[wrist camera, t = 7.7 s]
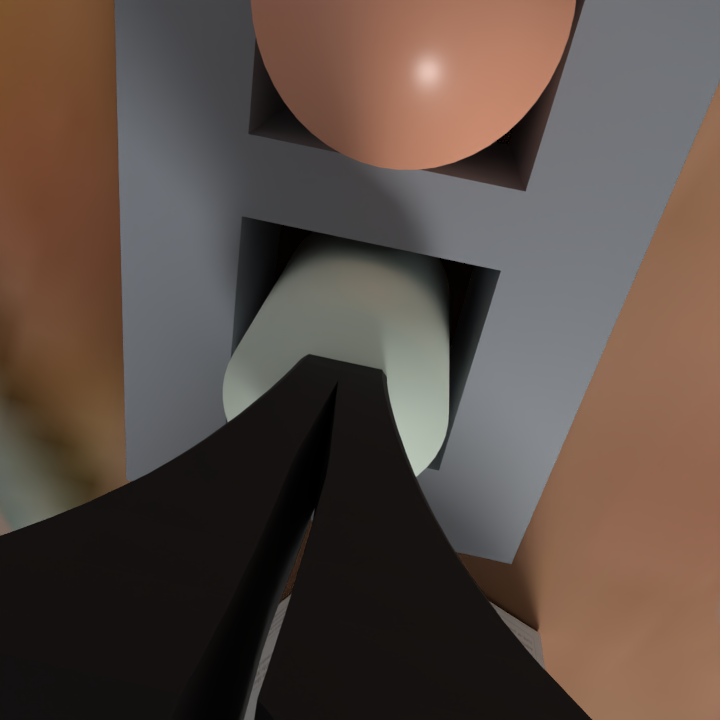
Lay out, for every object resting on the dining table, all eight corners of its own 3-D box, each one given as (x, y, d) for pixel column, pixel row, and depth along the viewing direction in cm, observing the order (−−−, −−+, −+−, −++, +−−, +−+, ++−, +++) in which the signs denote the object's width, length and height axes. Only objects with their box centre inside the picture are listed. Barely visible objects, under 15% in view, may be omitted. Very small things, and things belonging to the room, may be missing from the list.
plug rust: (307, 90, 12) (239, 138, 8) (336, -154, 10) (266, -241, 7) (497, 130, 12) (519, 196, 8) (563, -109, 10) (631, -169, 6)
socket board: (183, 394, 18) (126, 479, 15) (235, -1175, 7) (59, -2113, 4) (500, 462, 18) (511, 564, 14) (1062, -1039, 7) (1574, -1900, 4)
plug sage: (276, 350, 16) (216, 472, 12) (294, 199, 14) (230, 284, 10) (428, 383, 15) (420, 517, 12) (468, 235, 14) (475, 337, 10)
